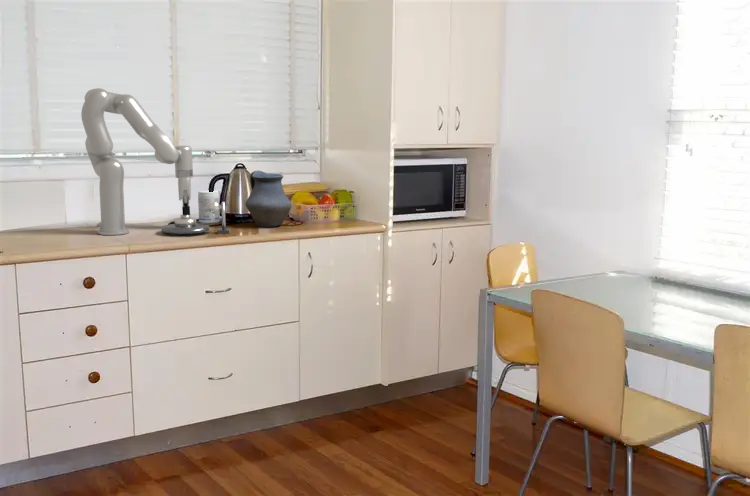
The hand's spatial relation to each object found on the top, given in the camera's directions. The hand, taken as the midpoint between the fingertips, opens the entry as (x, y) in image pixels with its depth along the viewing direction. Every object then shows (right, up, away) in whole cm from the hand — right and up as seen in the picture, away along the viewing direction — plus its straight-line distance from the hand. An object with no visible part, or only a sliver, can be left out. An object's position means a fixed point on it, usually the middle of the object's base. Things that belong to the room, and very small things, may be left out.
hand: (186, 215), depth 338 cm
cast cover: (+2, -5, -9) cm, 10 cm away
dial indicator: (+18, -8, -10) cm, 22 cm away
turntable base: (+3, -8, -12) cm, 14 cm away
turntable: (+3, -7, -12) cm, 14 cm away
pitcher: (+34, -4, +13) cm, 37 cm away
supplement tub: (+6, -3, +21) cm, 22 cm away
